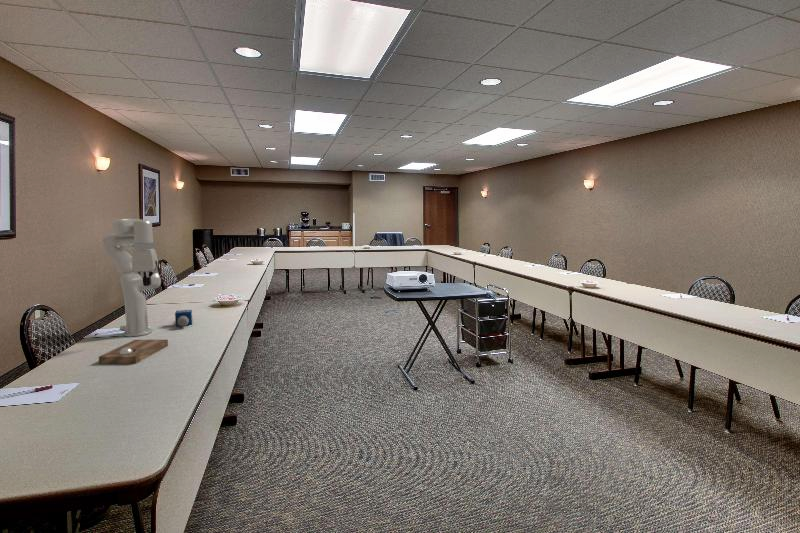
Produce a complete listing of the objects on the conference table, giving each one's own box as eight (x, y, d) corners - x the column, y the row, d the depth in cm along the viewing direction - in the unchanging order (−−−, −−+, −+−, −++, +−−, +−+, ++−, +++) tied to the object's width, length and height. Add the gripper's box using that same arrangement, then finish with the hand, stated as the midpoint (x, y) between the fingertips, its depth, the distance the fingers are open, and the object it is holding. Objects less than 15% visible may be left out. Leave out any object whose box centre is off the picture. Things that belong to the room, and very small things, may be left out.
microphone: (192, 305, 249) (190, 314, 226) (193, 318, 250) (191, 328, 227) (178, 306, 246) (173, 315, 223) (179, 319, 247) (174, 330, 224)
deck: (99, 363, 173) (98, 356, 172) (135, 346, 197) (135, 339, 196) (136, 363, 173) (135, 356, 172) (168, 345, 197) (167, 339, 196)
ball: (115, 360, 176) (116, 348, 176) (124, 357, 181) (125, 345, 181) (127, 361, 175) (128, 349, 175) (135, 358, 180) (136, 346, 180)
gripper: (123, 247, 195) (126, 287, 197) (155, 247, 195) (158, 286, 197) (133, 246, 202) (136, 284, 205) (164, 246, 203) (167, 284, 205)
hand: (147, 285), depth 201 cm, fingers closed
